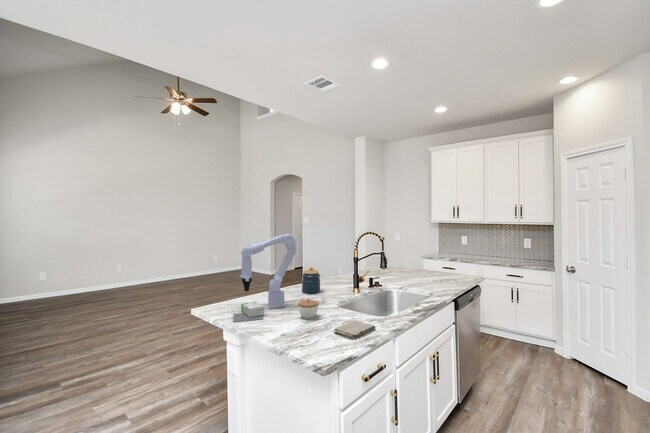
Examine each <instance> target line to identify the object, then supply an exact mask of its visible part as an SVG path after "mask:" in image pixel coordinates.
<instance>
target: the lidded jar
mask: <svg viewBox="0 0 650 433" xmlns="http://www.w3.org/2000/svg"><path fill="white" fill-rule="evenodd" d="M297 304H298V307H297V308H298V312H299V315H300V316H301V317H302V318H303V319H306V320H310V319H311V320H312V319H314V318H315V317H316V316H317V314H318V310H319V302H318V301H317V300H314V299H310V298H309V299H304V300H300V301H298V303H297Z"/></svg>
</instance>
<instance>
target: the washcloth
mask: <svg viewBox="0 0 650 433" xmlns="http://www.w3.org/2000/svg"><path fill="white" fill-rule="evenodd" d="M373 330H374V331H375V330H376V326H375V325H374V324H370V323H366V322H365V323H364V322H361V321H358V320H354V321H351V322H349V323H348V322H347V323H345V324H343V325H341V326H338V327H336V328H334V332H333V333H334V334H336V335H337V336H340V337H343V338H345V339H348V340H356V339H359V338H361V337H363V336H365V335H367V334H369V333H371V332H373Z"/></svg>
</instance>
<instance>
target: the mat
mask: <svg viewBox="0 0 650 433" xmlns="http://www.w3.org/2000/svg"><path fill="white" fill-rule="evenodd" d="M232 315H233V316H232V322H233V323H239V322H249V321H250V322H251V321H261V320H264V315H261V316H256V317H249V316H247V315H246V314H244V313H243V312H239V313H232Z"/></svg>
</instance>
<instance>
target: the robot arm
mask: <svg viewBox="0 0 650 433" xmlns="http://www.w3.org/2000/svg"><path fill="white" fill-rule="evenodd" d="M283 243H284V245H285V247H286V249H287V251H286V253H285V255H284V257H283V259H282V261H281V263H280V265H279V267H278V268H277V270H276V273H275V275H273V277H272V278H271V279H270V280H269V282H268V286H269V289H268V292H267V293H268V296H267V297H268V298H267V299H268V300H267V301H268V303H267V308H268V309H278V308H285V307H286V306H285V302H286V301H285V292H284V290H281V284H282V283H283V282H282V281H283V278H284V276H285V274H286V272H287V270H288V269H289V267H290V264H291V262H292V260H293V259H294V257H295V254H296V253H297V246H296V240H295V237H294V236H293V235H292V234H291V233H284V234H281V235H277V236H275V237H272V238H271V239H268V240H266V241H264V242H262V241H256V242H255V243H254V244H249V245H247V246H245V247H243V248H242V250H241V274H239V278H241V281H242V284H243V289H244V292H249V290H250V286H251V283H252V278H253V274H252V272H253V270H252V267H253V265H252V264H253V263H252V255H256V254H259V253H261V252H264V251H265V248H268V247H270V246H273V245H275V244H282V245H283Z"/></svg>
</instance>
